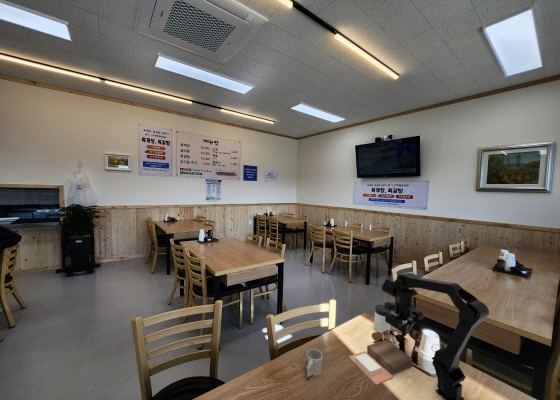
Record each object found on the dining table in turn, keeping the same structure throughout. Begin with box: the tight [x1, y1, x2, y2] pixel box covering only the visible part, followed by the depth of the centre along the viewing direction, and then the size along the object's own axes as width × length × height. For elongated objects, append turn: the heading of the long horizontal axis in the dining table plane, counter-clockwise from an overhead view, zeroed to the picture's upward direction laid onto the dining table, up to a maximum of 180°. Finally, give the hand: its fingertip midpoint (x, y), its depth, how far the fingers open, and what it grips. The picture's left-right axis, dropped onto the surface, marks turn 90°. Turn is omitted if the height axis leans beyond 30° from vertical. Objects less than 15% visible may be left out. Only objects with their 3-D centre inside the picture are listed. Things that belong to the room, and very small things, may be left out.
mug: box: [305, 348, 323, 378], centre depth 95 cm, size 10×7×7 cm, turn 149°
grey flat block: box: [355, 352, 381, 376], centre depth 98 cm, size 9×6×2 cm, turn 23°
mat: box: [348, 350, 394, 386], centre depth 98 cm, size 16×10×1 cm, turn 24°
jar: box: [373, 304, 392, 334], centre depth 126 cm, size 9×8×12 cm
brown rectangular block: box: [366, 339, 413, 376], centre depth 103 cm, size 14×12×4 cm
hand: (403, 335), depth 102 cm, fingers closed
